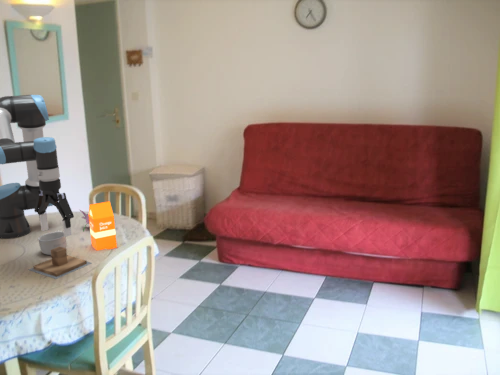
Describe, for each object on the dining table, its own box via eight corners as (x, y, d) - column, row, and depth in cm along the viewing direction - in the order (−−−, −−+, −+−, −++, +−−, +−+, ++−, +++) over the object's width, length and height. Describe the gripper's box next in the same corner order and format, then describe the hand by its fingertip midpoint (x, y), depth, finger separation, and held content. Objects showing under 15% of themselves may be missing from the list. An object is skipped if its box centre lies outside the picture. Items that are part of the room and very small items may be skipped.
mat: (28, 271, 195) (27, 269, 195) (64, 256, 209) (64, 254, 208) (56, 280, 186) (55, 279, 186) (92, 264, 200) (92, 263, 200)
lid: (33, 269, 195) (31, 251, 193) (63, 256, 206) (61, 240, 205) (56, 276, 188) (54, 258, 186) (86, 263, 199) (84, 246, 197)
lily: (100, 235, 236) (106, 215, 238) (75, 229, 231) (81, 208, 233) (96, 235, 247) (101, 216, 249) (71, 229, 242) (77, 210, 244)
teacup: (58, 258, 206) (56, 240, 204) (34, 257, 208) (32, 239, 206) (76, 246, 219) (74, 229, 217) (54, 245, 221) (51, 228, 219)
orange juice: (117, 247, 217) (112, 203, 212) (96, 252, 212) (91, 206, 207) (111, 242, 223) (107, 199, 218) (91, 246, 219) (86, 202, 214)
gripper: (20, 177, 192) (27, 230, 197) (62, 184, 178) (69, 241, 184) (37, 173, 198) (44, 225, 203) (79, 180, 185) (85, 235, 190)
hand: (56, 232), depth 193 cm, fingers open, 13 cm apart
